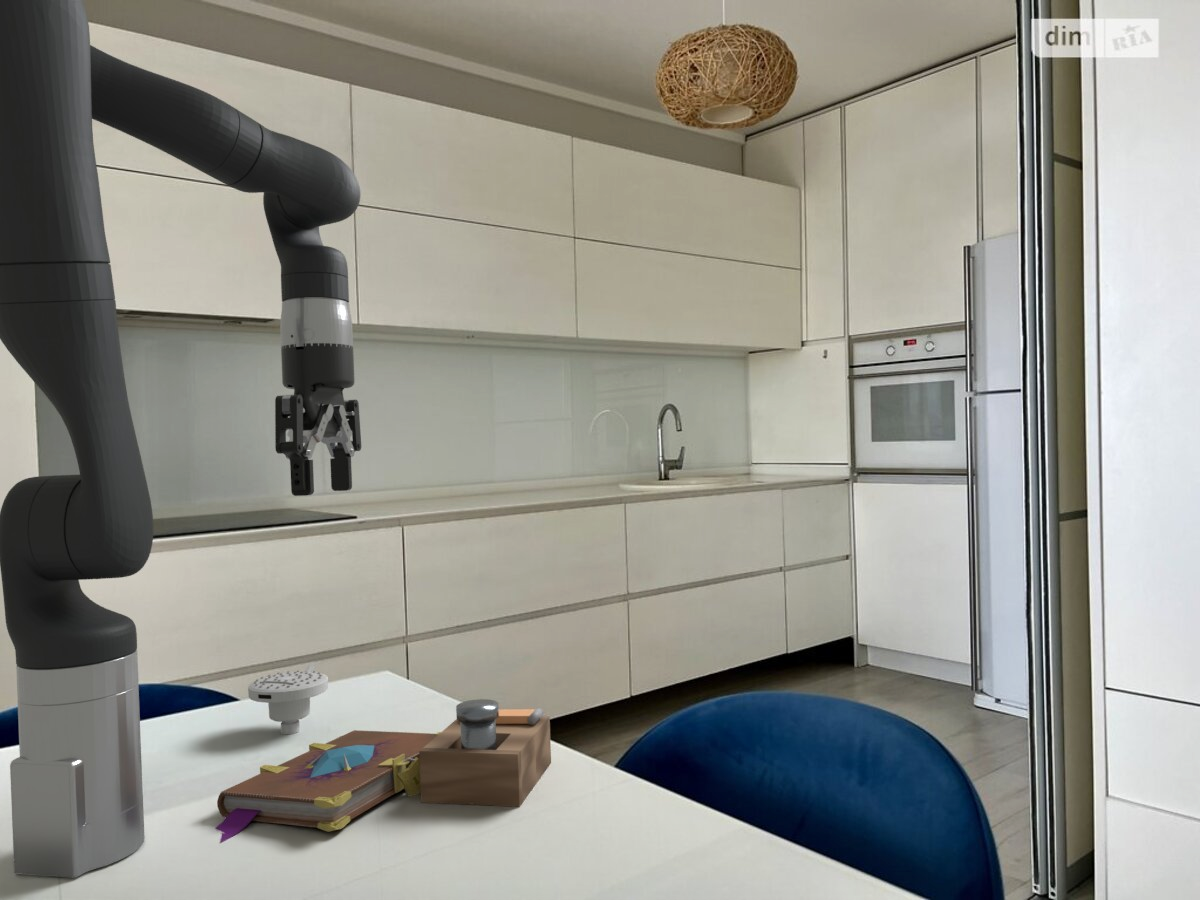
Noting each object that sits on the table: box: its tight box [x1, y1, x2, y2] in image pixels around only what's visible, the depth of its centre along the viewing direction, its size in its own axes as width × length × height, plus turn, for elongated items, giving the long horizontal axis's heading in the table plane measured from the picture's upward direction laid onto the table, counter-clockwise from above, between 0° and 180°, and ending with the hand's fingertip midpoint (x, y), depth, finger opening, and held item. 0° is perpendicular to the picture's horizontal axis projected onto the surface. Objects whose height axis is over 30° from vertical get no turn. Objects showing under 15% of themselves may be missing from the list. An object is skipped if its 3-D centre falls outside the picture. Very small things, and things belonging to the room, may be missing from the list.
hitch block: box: [419, 715, 552, 807], centre depth 93 cm, size 12×10×5 cm
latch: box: [495, 707, 544, 725], centre depth 97 cm, size 3×9×1 cm, turn 79°
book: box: [214, 729, 442, 843], centre depth 91 cm, size 16×25×5 cm, turn 156°
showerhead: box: [247, 663, 329, 735], centre depth 113 cm, size 9×7×10 cm
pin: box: [455, 698, 500, 750], centre depth 90 cm, size 4×4×9 cm
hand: (323, 492), depth 98 cm, fingers open, 8 cm apart
